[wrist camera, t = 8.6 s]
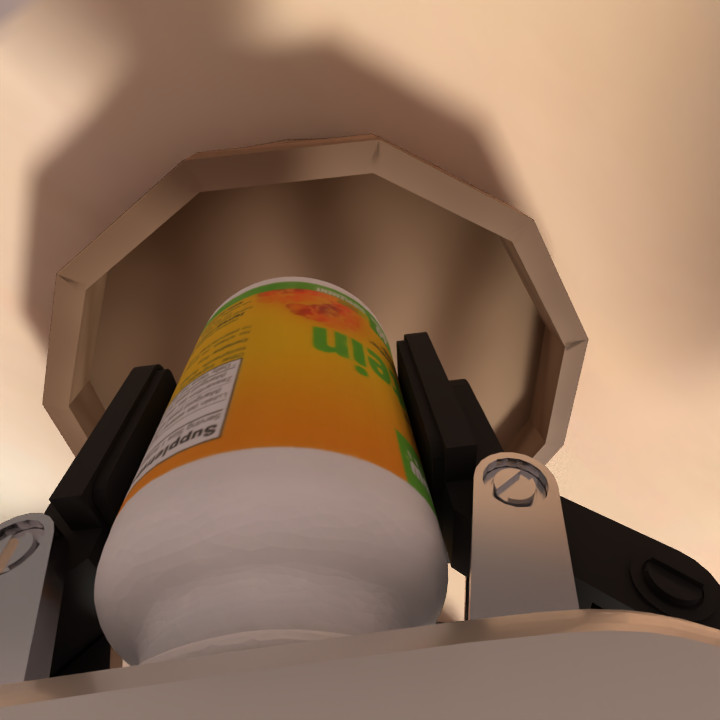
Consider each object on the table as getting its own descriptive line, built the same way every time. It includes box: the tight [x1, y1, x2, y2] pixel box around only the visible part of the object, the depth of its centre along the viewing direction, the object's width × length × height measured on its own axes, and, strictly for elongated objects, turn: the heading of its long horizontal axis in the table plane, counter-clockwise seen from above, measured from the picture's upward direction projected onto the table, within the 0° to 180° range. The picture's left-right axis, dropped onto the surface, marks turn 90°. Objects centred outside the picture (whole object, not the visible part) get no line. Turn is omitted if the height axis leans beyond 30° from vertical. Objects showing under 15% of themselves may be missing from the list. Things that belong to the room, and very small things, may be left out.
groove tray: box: [42, 134, 588, 466], centre depth 22 cm, size 24×24×3 cm
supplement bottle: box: [94, 277, 448, 666], centre depth 8 cm, size 5×5×10 cm
